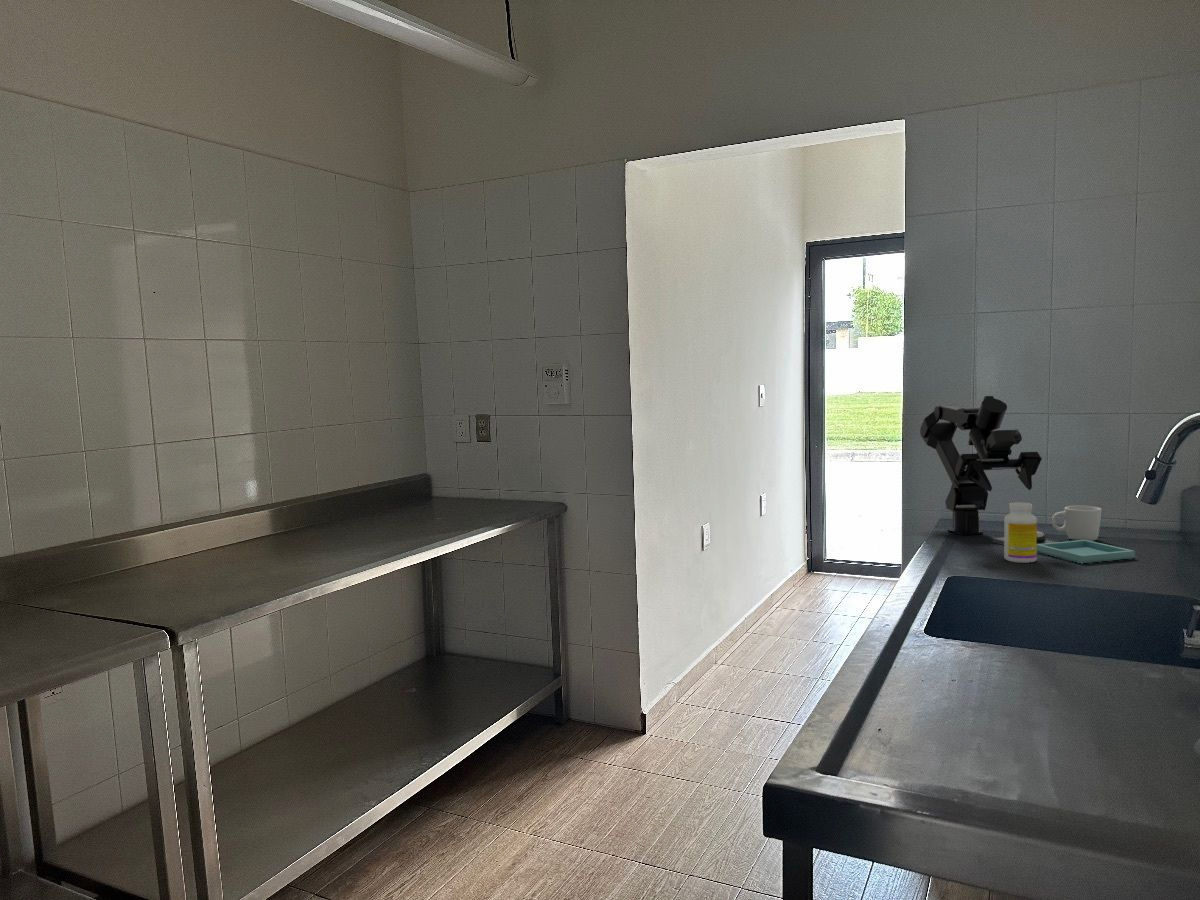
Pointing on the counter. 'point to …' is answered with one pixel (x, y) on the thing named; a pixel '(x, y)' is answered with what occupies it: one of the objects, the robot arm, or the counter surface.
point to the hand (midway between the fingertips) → (1010, 489)
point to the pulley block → (1040, 539)
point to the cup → (1080, 522)
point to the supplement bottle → (1020, 533)
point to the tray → (1084, 551)
